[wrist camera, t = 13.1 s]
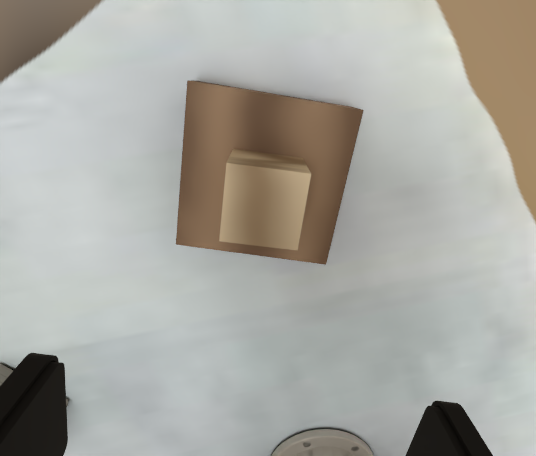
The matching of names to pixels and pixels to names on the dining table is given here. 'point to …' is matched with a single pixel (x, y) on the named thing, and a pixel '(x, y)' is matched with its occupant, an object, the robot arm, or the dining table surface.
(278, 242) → the maple cube
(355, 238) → the dining table surface
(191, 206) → the walnut block
